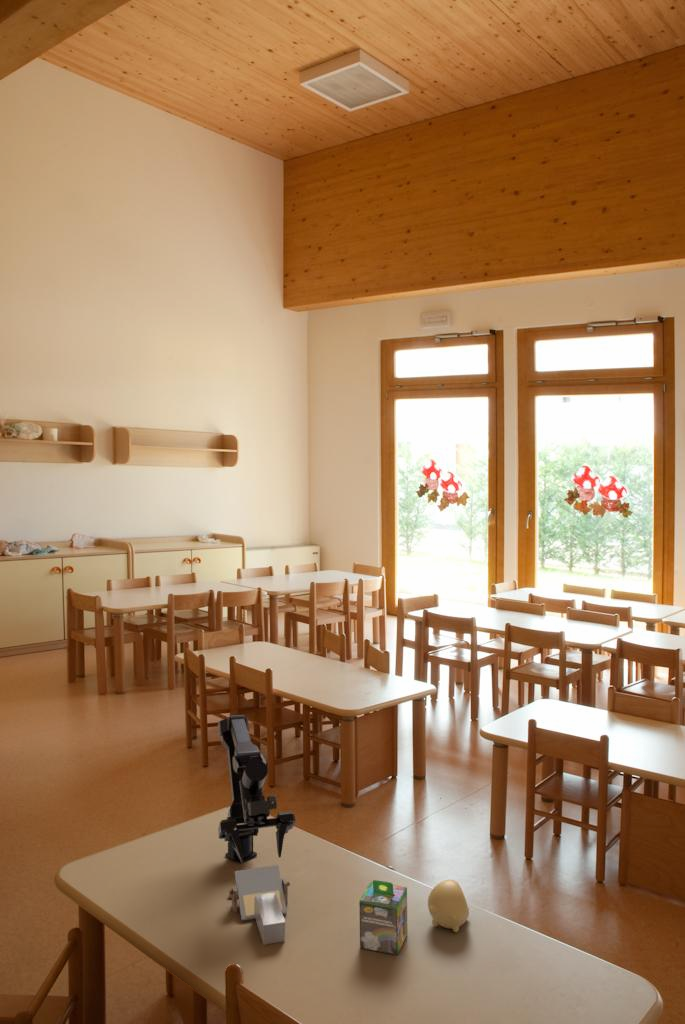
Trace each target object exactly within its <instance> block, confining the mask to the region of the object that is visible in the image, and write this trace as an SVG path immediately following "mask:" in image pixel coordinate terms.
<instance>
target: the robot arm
mask: <svg viewBox="0 0 685 1024" xmlns="http://www.w3.org/2000/svg"><path fill="white" fill-rule="evenodd" d="M249 723H250V722H249V718H248V717H246V715H244V714H236V715H235V714H234V715H229V716H227V717H226V718H223V719H221V720H219V722H218V723H217V735H218V737H220V743H221V745H222V746H223V747H224V749H225V750H226V752H227V760H228V771H229V782H230V790H231V791H230V793H231V801H232V803H231V805H230V807H229V810H228V811H227V817H226V819H221V820H220V822H219V824H218V828H217V835H218V839H220V840H221V839H224V842H227V852H226V853H224V854H225V857H227V858H228V859H230V860H233V861H234V862H237V863H239V864H241V863H242V864H244V862H245V861H248V860H250V859H252V858H254V857H257V856H258V853H257V852H255V851H254V837H255V836H256V837H258V833H259V829H263V828H264V829H266V828H270V827H275V828H276V832H275V835H276V836H275V837H276V838H275V839H276V848H277V849H276V851H277V855H278V858H281V857H282V853H283V845H284V839H285V835H286V834H288V833H289V831H290V830H292V829H293V828H294V825H295V823H296V816H295V814H294V812H293V811H291V810H290V811H283V812H278V813H277V815H276V817H274V818H269V817H270V814H271V811H270V810H277V808H278V806H277V799H276V795H270V796H269V795H268V796H266V797H265V794H264V787H263V786H264V784H265V782H266V779H267V777H268V774H269V773H268V772H269V771H268V770H269V768H268V762H267V760H266V758H265V757H264V755H263V752H262V753H261V751H260V748H259V747H258V745H256V744H254V743H253V742H252V740H251V736H250V734H249V733H250V724H249Z"/></svg>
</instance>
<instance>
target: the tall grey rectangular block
mask: <svg viewBox="0 0 685 1024" xmlns="http://www.w3.org/2000/svg"><path fill="white" fill-rule="evenodd" d="M254 916H255V919H254V920H255V922H256V925H257V928H258V932H259V935H260V939H261V942H262V945H263V946H265V945H271V944H276V943H283V942H286V941H285V939H286V920H285V918H284V914H282V911H281V908H280V905H279V903H278V900H277V897H276V894H275V892H274V893H268V894H261V895H255V896H254Z"/></svg>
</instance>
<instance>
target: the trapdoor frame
mask: <svg viewBox="0 0 685 1024" xmlns="http://www.w3.org/2000/svg"><path fill="white" fill-rule="evenodd" d="M281 883H282V888H283V893H284V899H285V904H286V906H287V904H288V905H289V903H288V891H289V890H288V887H290V886H291V884H290V881H287V880H286V877H281ZM228 899H231V908H232V912H233V914H237V913H238V893H237V886H236V884H232V885H231V890H229V891H228Z"/></svg>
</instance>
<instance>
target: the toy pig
mask: <svg viewBox="0 0 685 1024" xmlns="http://www.w3.org/2000/svg"><path fill="white" fill-rule="evenodd" d="M427 906H428V907H427V908H428V912H429V915H430V916H431V918H432V922H431V925H432V926H433V927H438V926H441V927H442V928H445V929H452V931H453V932H454V933H457V932H459V930H460V927H461V926H463V924H464V923H465V922H466V921H467V920H468V918H469V916H470V909H469V906H468V903H467V899H466V897H465V894H464V892H463V889H462V887H461V886H460V884H459V882H458V881H456V880H455V879H446V880H443V881H440V882H439V883H438V884H436V885H435V886H434V887H433V888H432V889H431V891H430V893H429V895H428V899H427Z"/></svg>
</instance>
